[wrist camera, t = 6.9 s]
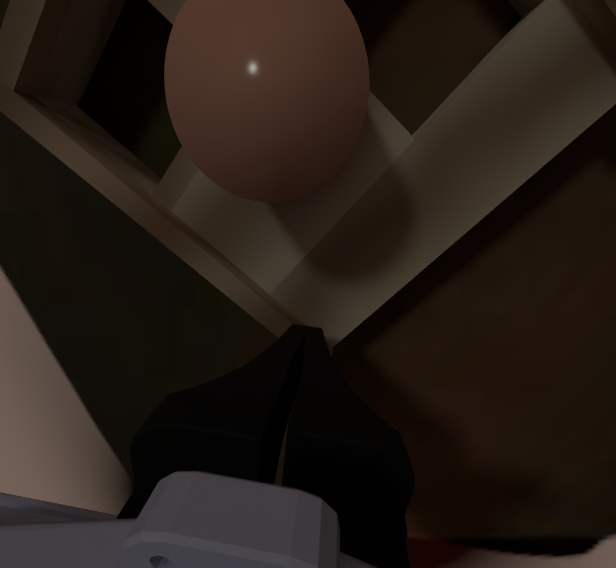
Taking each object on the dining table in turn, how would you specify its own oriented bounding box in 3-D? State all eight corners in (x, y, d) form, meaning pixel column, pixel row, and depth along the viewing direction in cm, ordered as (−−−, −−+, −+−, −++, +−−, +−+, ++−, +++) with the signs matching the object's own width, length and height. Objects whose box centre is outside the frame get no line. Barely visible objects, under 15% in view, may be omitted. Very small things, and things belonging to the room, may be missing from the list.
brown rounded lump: (386, 133, 11) (411, 113, 7) (281, 218, 12) (255, 238, 8) (302, -2, 9) (276, -116, 6) (197, 109, 11) (124, 77, 7)
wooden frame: (612, 77, 11) (697, 48, 8) (321, 338, 16) (317, 369, 14) (262, -399, 8) (224, -674, 5) (50, 109, 13) (-21, 94, 11)
